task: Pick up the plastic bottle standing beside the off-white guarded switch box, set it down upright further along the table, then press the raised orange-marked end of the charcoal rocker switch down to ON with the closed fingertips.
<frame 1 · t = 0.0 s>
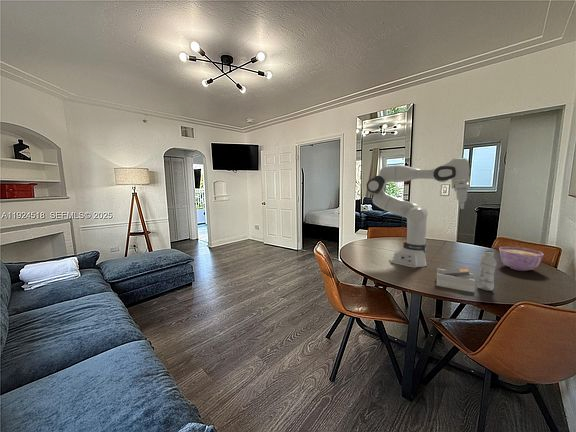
hand: (461, 208, 143), 39 cm above the table, tool pointing down, fingers open, 8 cm apart
bowl of food: (518, 268, 149), on the table
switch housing: (454, 284, 126), on the table
switch rocker: (454, 272, 126), point 7 cm above the table, hinge at -15.0°
plastic bottle: (485, 289, 120), on the table
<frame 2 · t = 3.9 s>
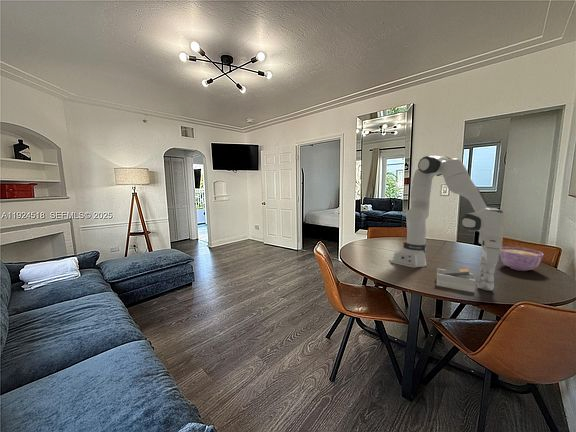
hand: (487, 267, 119), 12 cm above the table, tool pointing down, fingers closed on plastic bottle, 6 cm apart
plastic bottle: (485, 289, 120), on the table, touching gripper
everything else where it was.
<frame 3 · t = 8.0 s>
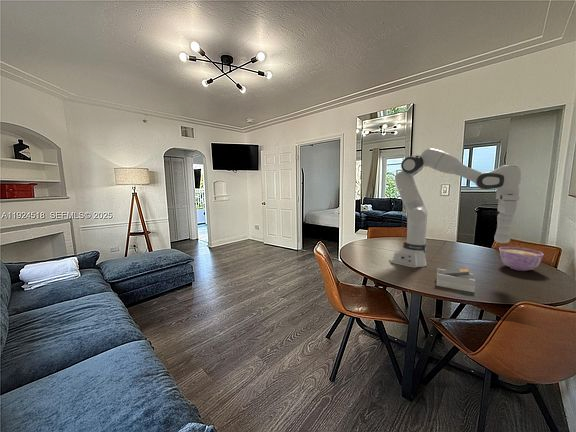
hand: (504, 221, 128), 33 cm above the table, tool pointing down, fingers closed on plastic bottle, 6 cm apart
plastic bottle: (501, 243, 130), point 21 cm above the table, touching gripper
everything else where it was.
when the fingers open (13 cm above the table, at t = 12.3 s): plastic bottle moves 2 cm, on the table.
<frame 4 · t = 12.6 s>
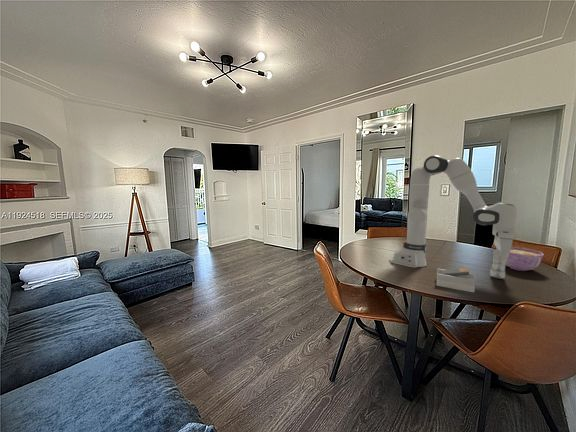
hand: (500, 256, 131), 13 cm above the table, tool pointing down, fingers open, 8 cm apart
plastic bottle: (496, 277, 135), on the table, touching gripper
everything else where it was.
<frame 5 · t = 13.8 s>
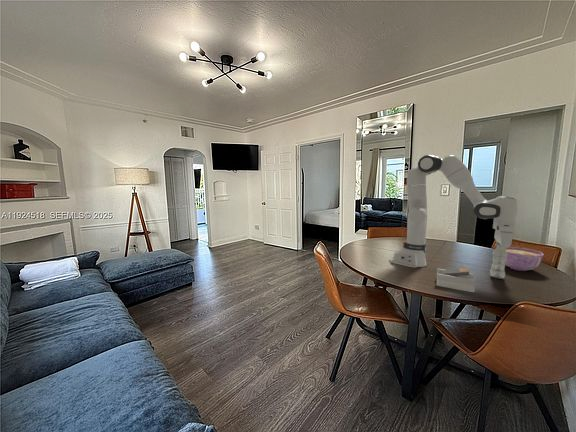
hand: (500, 250, 131), 17 cm above the table, tool pointing down, fingers open, 8 cm apart
nothing on the table moved.
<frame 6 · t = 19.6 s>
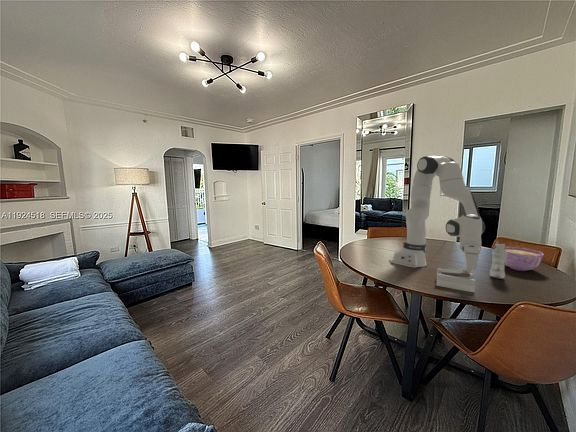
hand: (468, 272, 122), 8 cm above the table, tool pointing down, fingers closed, pressing on switch rocker
switch rocker: (455, 272, 126), point 7 cm above the table, hinge at -5.1°, touching gripper
plastic bottle: (496, 278, 135), on the table
everything else where it was.
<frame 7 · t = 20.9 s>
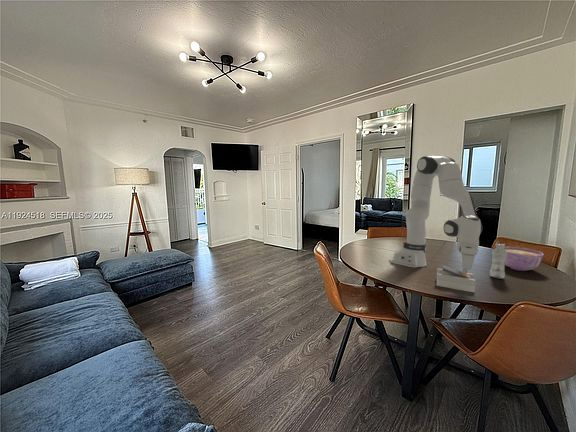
hand: (464, 272, 123), 7 cm above the table, tool pointing down, fingers closed
switch rocker: (455, 272, 125), point 7 cm above the table, hinge at 16.6°
everything else where it was.
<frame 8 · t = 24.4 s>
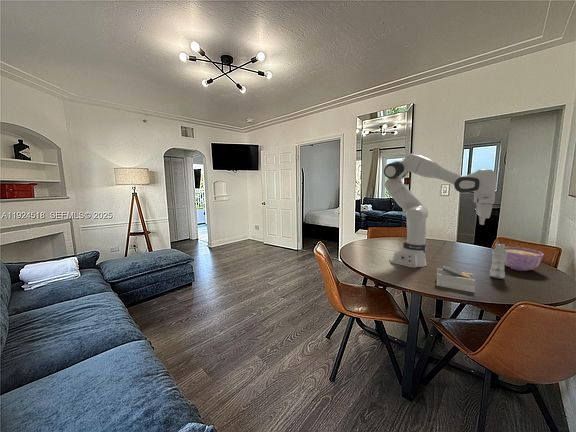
hand: (481, 224, 131), 31 cm above the table, tool pointing down, fingers closed
switch rocker: (455, 272, 125), point 7 cm above the table, hinge at 16.9°
everything else where it was.
at the end: switch rocker at +17° (first picture: -15°); plastic bottle inside the target area (2.5 cm from its centre), on the table; plastic bottle tilted 0° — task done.
